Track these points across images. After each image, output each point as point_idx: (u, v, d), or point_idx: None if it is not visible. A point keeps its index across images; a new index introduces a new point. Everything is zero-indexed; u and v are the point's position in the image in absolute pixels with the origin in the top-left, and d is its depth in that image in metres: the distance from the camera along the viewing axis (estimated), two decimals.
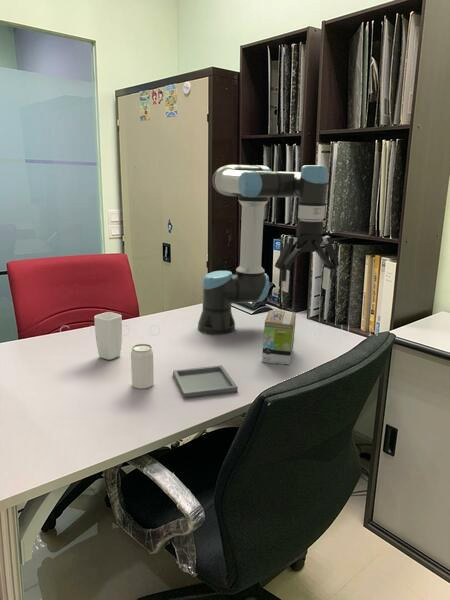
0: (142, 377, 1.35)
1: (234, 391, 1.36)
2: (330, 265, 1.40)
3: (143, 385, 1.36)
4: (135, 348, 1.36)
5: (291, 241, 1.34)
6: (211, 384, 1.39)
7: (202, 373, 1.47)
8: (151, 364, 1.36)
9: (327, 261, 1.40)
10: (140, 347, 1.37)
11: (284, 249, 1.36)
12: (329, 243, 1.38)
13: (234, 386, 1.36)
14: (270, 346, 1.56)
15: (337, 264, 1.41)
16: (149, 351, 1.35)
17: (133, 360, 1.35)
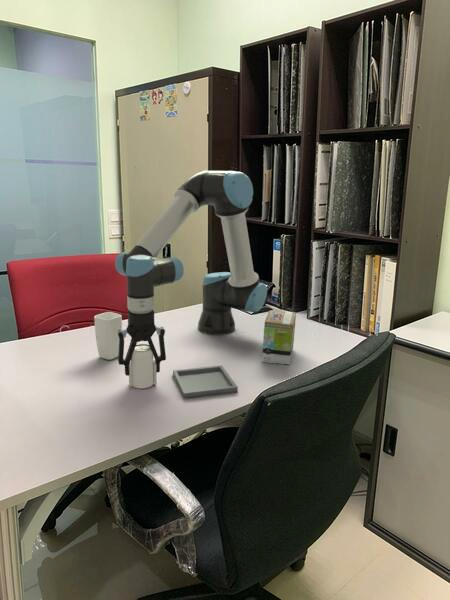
0: (142, 377, 1.35)
1: (234, 391, 1.36)
2: (156, 359, 1.37)
3: (143, 385, 1.36)
4: (135, 348, 1.36)
5: (120, 336, 1.32)
6: (211, 384, 1.39)
7: (202, 373, 1.47)
8: (151, 364, 1.36)
9: (154, 354, 1.37)
10: (140, 347, 1.37)
11: (119, 344, 1.34)
12: (161, 335, 1.36)
13: (234, 386, 1.36)
14: (270, 346, 1.56)
15: (164, 358, 1.38)
16: (149, 351, 1.35)
17: (133, 360, 1.35)
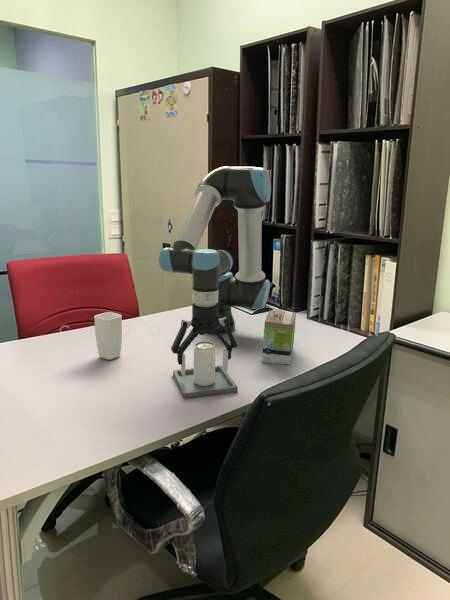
0: (205, 374, 1.37)
1: (234, 391, 1.36)
2: (228, 347, 1.39)
3: (206, 382, 1.38)
4: (198, 346, 1.38)
5: (184, 326, 1.33)
6: None
7: None
8: (214, 361, 1.38)
9: (224, 343, 1.38)
10: (203, 345, 1.38)
11: (179, 333, 1.34)
12: (226, 325, 1.37)
13: (234, 386, 1.36)
14: (271, 346, 1.56)
15: (235, 345, 1.39)
16: (212, 349, 1.36)
17: (197, 357, 1.36)
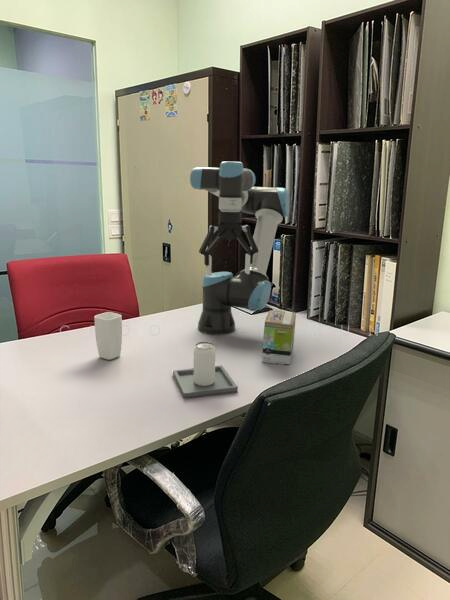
0: (205, 374, 1.37)
1: (234, 391, 1.36)
2: (250, 251, 1.56)
3: (206, 382, 1.38)
4: (198, 346, 1.38)
5: (212, 229, 1.50)
6: None
7: None
8: (214, 361, 1.38)
9: (247, 248, 1.56)
10: (203, 345, 1.38)
11: (206, 237, 1.52)
12: (248, 231, 1.54)
13: (234, 386, 1.36)
14: (270, 346, 1.56)
15: (256, 250, 1.57)
16: (212, 348, 1.37)
17: (197, 357, 1.36)
